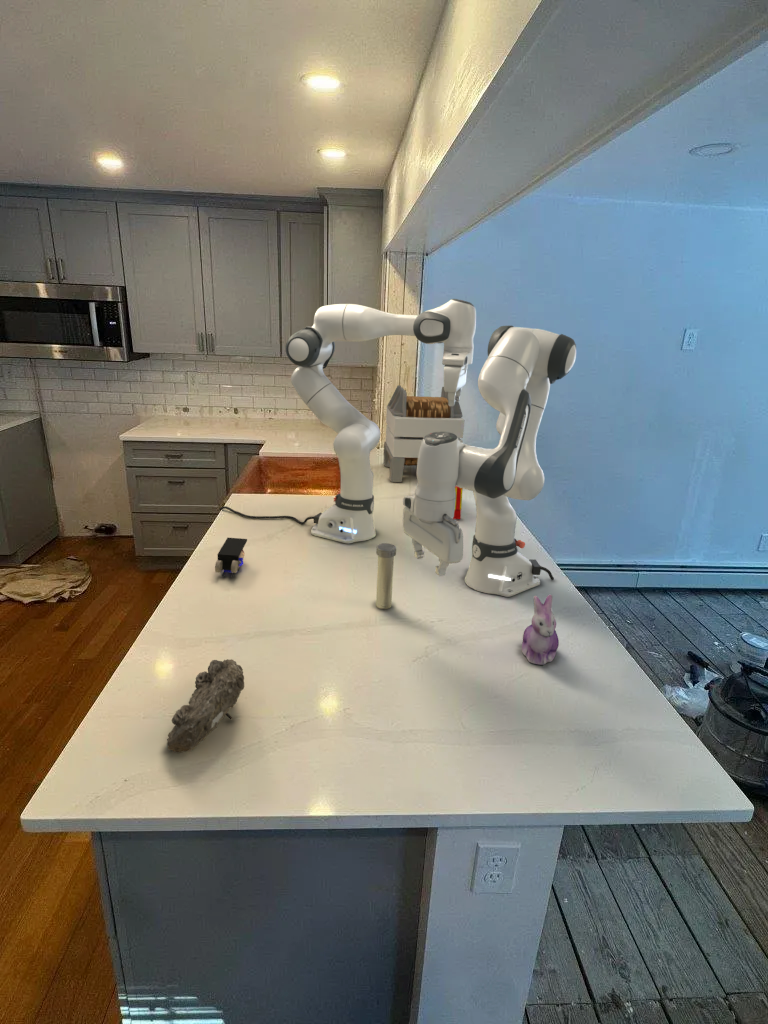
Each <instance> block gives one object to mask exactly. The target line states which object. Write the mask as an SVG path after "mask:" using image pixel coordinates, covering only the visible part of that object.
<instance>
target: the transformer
mask: <svg viewBox="0 0 768 1024" xmlns="http://www.w3.org/2000/svg"><path fill="white" fill-rule="evenodd" d="M440 393H441V394H440V396H415V395H414V396H413V395H412V396H411V395H407V394H408V393H407V390H406V389H404V388H403V387H402V385H399V384H398V385H397V386H396V388H395V390H394V392H393V394H392V395H391V398H390V400H389V402H388V404H387V405H386V413H385V414H386V415H385V423H386V428H385V438H384V442H383V466H384V467H388V468H389V475H388V476H389V477H388V478H389V480H390V482H391V483H402V482H403V475H404V469H405V466H406V467H407V466H411V467H412V466H413V467H415V466H416V467H417V462H418V455H419V450H420V446H421V443H422V440H423V438H424V437H425V436H426V435H428V434H430V433H433V432H450V433H453V434H455V435H456V436H457V437H458V440H459V441H460V442H462V443H464V441H463V440H462V439H463V438H464V431H465V430H464V429H465V419H464V418H463V411H462V408H461V405H460V401H458V402H455V405H454V406H449V405H448V401H449V400H448V392H445V390H444V386H442V387H441V392H440Z"/></svg>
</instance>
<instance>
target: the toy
mask: <svg viewBox="0 0 768 1024" xmlns="http://www.w3.org/2000/svg"><path fill="white" fill-rule="evenodd" d="M463 490H464V489H463V488H459V487H457V486H456V487H455V492H456V500H455V510H454V517H453V519H454V520H461V518H462V516H461V515H462V507H463Z"/></svg>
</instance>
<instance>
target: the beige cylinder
mask: <svg viewBox="0 0 768 1024" xmlns="http://www.w3.org/2000/svg"><path fill="white" fill-rule="evenodd" d="M394 563H395V556H394V557H391V558H383V557H379V556H378V555H377V571H376V572H377V573H376V594H375V595H376V596H375V606H376V608H378V609H380V610H388V609H390V608H392V603H393V602H392V599H393V582H394Z"/></svg>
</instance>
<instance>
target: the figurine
mask: <svg viewBox="0 0 768 1024" xmlns="http://www.w3.org/2000/svg"><path fill="white" fill-rule="evenodd" d="M552 608H553V594H548V595H547V596H546V598H545V600H544V602H543V603H542V601H541V599H540V597H538V596H537V595H534V596H533V611H534V613H533V616H532V619H531V624H530V625H528V626H527V627H525V629H524V631H523V634H522V641H521V652H522V654H523V656H524V657H526V659H527V661H528V662H529V663H531V664H535V665H538V666H539V665H546V664H547V663H551V662H553V661H554V659H555V657H556V654H557V650H558V649H559V645H560V644H559V643H560V641H559V636H558V633H557V631H556V628H557V620H556V617H555V615H554V613H553V610H552Z"/></svg>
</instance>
